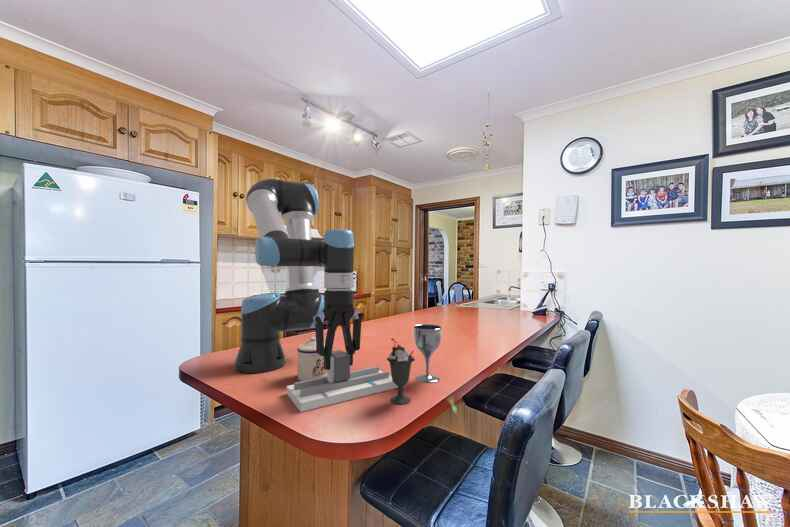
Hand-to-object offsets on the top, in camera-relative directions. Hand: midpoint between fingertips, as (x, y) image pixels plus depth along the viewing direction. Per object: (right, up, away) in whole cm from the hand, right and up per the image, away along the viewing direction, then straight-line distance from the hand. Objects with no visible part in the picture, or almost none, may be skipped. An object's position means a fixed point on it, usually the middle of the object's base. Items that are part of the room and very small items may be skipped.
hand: (338, 379), depth 82 cm
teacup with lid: (-9, -3, +12) cm, 15 cm away
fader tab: (0, -1, 0) cm, 1 cm away
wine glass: (+24, -3, +10) cm, 26 cm away
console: (+1, -3, +1) cm, 3 cm away
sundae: (+16, -3, -5) cm, 17 cm away
